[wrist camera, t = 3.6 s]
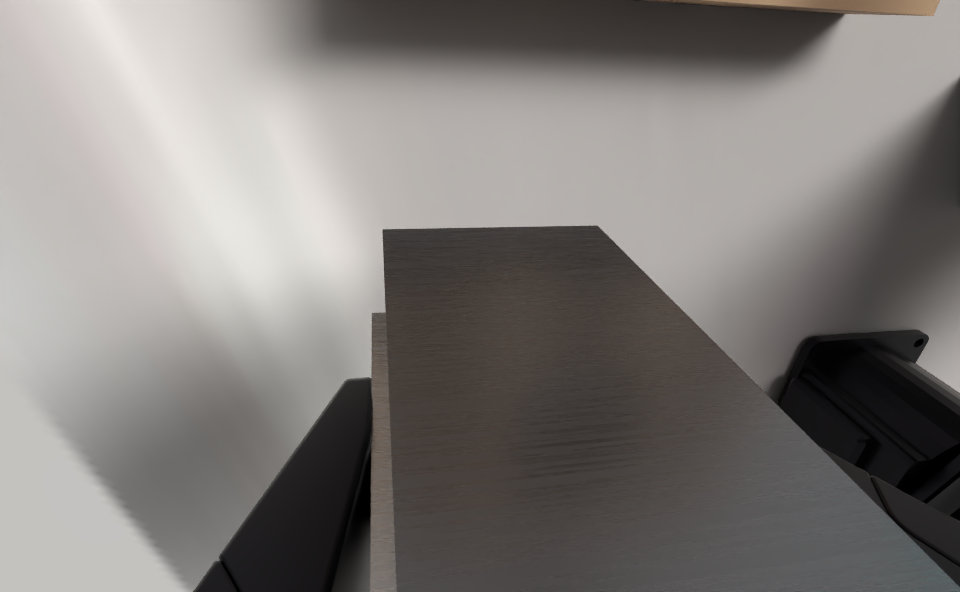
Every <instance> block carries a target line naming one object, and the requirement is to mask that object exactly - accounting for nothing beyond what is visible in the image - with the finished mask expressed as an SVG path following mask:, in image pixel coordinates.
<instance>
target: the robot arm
mask: <svg viewBox="0 0 960 592" xmlns="http://www.w3.org/2000/svg"><path fill="white" fill-rule="evenodd" d="M928 340H929V337H928V335H926V334H925V333H923V332H921V331H920V330H903V331H888V332H873V333H859V334H844V335H829V336H816V337H812V338H810V339H809V340H808V341H806V342H805V344H804V345H803V348H802V350H801V352H800V354H799V357H798V359H797V361H796V363H795V366H794V368H793V370H792V372H791V375H790V377H789V379H788V381H787V384H786V386H785V388H784V391H783V393H782V395H781V397H780V400H779V402H778V404H777V405H778V406H779V407H780V408H781V409H782V410H783V411H784V412H785V413H786V414H787V415H788V416H789V417H790V418H791V419H792V420H793V421H794V422H795V423H796V424H797V425H798V426H799V427H800V428H801V429H802V430H803V431H804V432H805V433H806V434H807V435H808V436H809V437H810V438H811V439H812V440H813V441H814V442H815V443H816V444H817V445H818V446H819V447H820V448H821V449H822V450H823V451H824V452H825V453H826V454H827V455H828V456H829V457H830V458H831V459H832V460H833V461H834V462H835V463H836V464H837V465H838V466H839V467H840V468H841V469H842V470H843V471H844V472H845V473H846V474H847V475H848V476H849V477H850V478H851V479H852V480H853V481H854V482H855V483H856V484H857V485H858V486H859V487H860V488H861V489H862V490H863V491H864V492H865V493H866V494H867V495H868V496H869V497H870V498H871V499H872V500H873V501H874V502H875V503H876V504H877V505H878V506H879V507H880V508H881V509H882V510H883V511H884V512H885V513H886V514H887V515H888V516H889V517H890V518H891V519H892V520H893V521H894V522H895V523H896V524H897V525H898V526H899V527H900V528H901V529H902V530H903V531H904V532H905V533H906V534H907V535H908V536H909V537H910V538H911V539H912V540H913V541H914V542H915V543H916V544H917V545H918V546H919V547H920V548H921V549H922V550H923V551H924V552H925V553H926V554H927V555H928V556H929V557H930V558H931V559H932V560H933V561H934V562H935V563H936V564H937V565H938V566H939V567H940V568H941V569H942V570H943V571H944V572H945V573H946V574H947V575H948V576H949V577H950V578H951V579H952V580H953V581H954V582H955V583H956V584H957V585H958V586H959V587H960V393H959V392H957V391H956V390H954V389H953V388H951V387H950V386H948V385H947V384H945V383H944V382H942V381H941V380H939V379H938V378H936V377H935V376H933V375H932V374H930V373H929V372H927V371H926V370H924V369H923V368H921V367H920V366H918V365H917V364H915V363H916V361H917V359H918V358H919V356H920V354H921V353H922V351H923V349H924V347H925V346H926V344H927V342H928ZM372 434H373V401H372V378H354V379H347V380H346V381H345V382H344V383H343V384H342V386H341V387H340V389H339V390H338V391H337V393H336V394H335V396H334V397H333V398H332V400H331V401H330V403H329V404H328V405H327V407H326V408H325V410H324V411H323V412H322V414H321V415H320V416H319V418H318V419H317V421H316V422H315V423H314V425H313V426H312V428H311V429H310V430H309V432H308V433H307V435H306V436H305V437H304V439H303V440H302V442H301V443H300V444H299V446H298V447H297V448H296V450H295V451H294V453H293V454H292V455H291V457H290V458H289V460H288V461H287V462H286V464H285V465H284V467H283V468H282V469H281V471H280V472H279V474H278V475H277V476H276V478H275V479H274V480H273V482H272V483H271V485H270V486H269V487H268V489H267V490H266V492H265V493H264V494H263V496H262V497H261V499H260V500H259V501H258V503H257V504H256V506H255V507H254V508H253V510H252V511H251V513H250V514H249V515H248V517H247V518H246V519H245V521H244V522H243V524H242V525H241V526H240V528H239V529H238V531H237V532H236V533H235V535H234V536H233V538H232V539H231V540H230V542H229V543H228V545H227V546H226V547H225V549H224V550H223V551H222V553H221V554H220V556H219V559H220V561H215V562H214V563H213V565H212V566H211V568H210V569H209V570H208V572H207V573H206V575H205V576H204V577H203V579H202V580H201V582H200V583H199V585H198V586H197V587H196V589H195V590H194V591H193V592H370V572H371V444H372Z"/></svg>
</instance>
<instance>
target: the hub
mask: <svg viewBox="0 0 960 592" xmlns="http://www.w3.org/2000/svg"><path fill="white" fill-rule="evenodd" d="M641 1H657V2H672V3H688V4H703V5H718V6H734V7H749V8H765V9H780V10H796V11H811V12H826V13H842V14H876V15H918V16H933V15H934V13H935V11H936V8H937V6H938V4H939V1H940V0H641Z"/></svg>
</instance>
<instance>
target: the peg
mask: <svg viewBox="0 0 960 592" xmlns="http://www.w3.org/2000/svg"><path fill="white" fill-rule="evenodd" d="M383 253H384V278H385V304H386V313H372V401H373V434H372V444H371V572H370V592H960V587H959V586H958V585H957V584H956V583H955V582H954V581H953V580H952V579H951V578H950V577H949V576H948V575H947V574H946V573H945V572H944V571H943V570H942V569H941V568H940V567H939V566H938V565H937V564H936V563H935V562H934V561H933V560H932V559H931V558H930V557H929V556H928V555H927V554H926V553H925V552H924V551H923V550H922V549H921V548H920V547H919V546H918V545H917V544H916V543H915V542H914V541H913V540H912V539H911V538H910V537H909V536H908V535H907V534H906V533H905V532H904V531H903V530H902V529H901V528H900V527H899V526H898V525H897V524H896V523H895V522H894V521H893V520H892V519H891V518H890V517H889V516H888V515H887V514H886V513H885V512H884V511H883V510H882V509H881V508H880V507H879V506H878V505H877V504H876V503H875V502H874V501H873V500H872V499H871V498H870V497H869V496H868V495H867V494H866V493H865V492H864V491H863V490H862V489H861V488H860V487H859V486H858V485H857V484H856V483H855V482H854V481H853V480H852V479H851V478H850V477H849V476H848V475H847V474H846V473H845V472H844V471H843V470H842V469H841V468H840V467H839V466H838V465H837V464H836V463H835V462H834V461H833V460H832V459H831V458H830V457H829V456H828V455H827V454H826V453H825V452H824V451H823V450H822V449H821V448H820V447H819V446H818V445H817V444H816V443H815V442H814V441H813V440H812V439H811V438H810V437H809V436H808V435H807V434H806V433H805V432H804V431H803V430H802V429H801V428H800V427H799V426H798V425H797V424H796V423H795V422H794V421H793V420H792V419H791V418H790V417H789V416H788V415H787V414H786V413H785V412H784V411H783V410H782V409H781V408H780V407H779V406H778V405H777V404H776V403H775V402H774V401H773V400H772V399H771V398H770V397H769V396H768V395H767V394H766V393H765V392H764V391H763V390H762V389H761V388H760V387H759V386H758V385H757V384H756V383H755V382H754V381H753V380H752V379H751V378H750V377H749V376H748V375H747V374H746V373H745V372H744V371H743V370H742V369H741V368H740V367H739V366H738V365H737V364H736V363H735V362H734V361H733V360H732V359H731V358H730V357H729V356H728V355H727V354H726V353H725V352H724V351H723V350H722V349H721V348H720V347H719V346H718V345H717V344H716V343H715V342H714V341H713V340H712V339H711V338H710V337H709V336H708V335H707V334H706V333H705V332H704V331H703V330H702V329H701V328H700V327H699V326H698V325H697V324H696V323H695V322H694V321H693V320H692V319H691V318H690V317H689V316H688V315H686V314H685V313H684V312H683V311H682V310H681V309H680V308H679V307H678V306H677V305H676V304H675V303H674V302H673V301H672V300H671V299H670V298H669V297H668V296H667V295H666V294H665V293H664V292H663V291H662V290H661V289H660V288H659V287H658V286H657V285H656V284H655V283H654V282H653V281H652V280H651V279H650V278H649V277H648V276H647V275H646V274H645V273H644V272H643V271H642V270H641V269H640V268H639V267H638V266H637V265H636V264H635V263H634V262H633V261H632V260H631V259H630V258H629V257H628V256H627V255H626V254H625V253H624V252H623V251H622V250H621V249H620V248H619V247H618V246H617V245H616V244H615V243H614V242H613V241H612V240H611V239H610V238H609V237H608V236H607V235H606V234H605V233H604V232H603V231H602V230H601V229H600V228H599V227H598V226H551V227H495V228H439V229H383Z"/></svg>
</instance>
